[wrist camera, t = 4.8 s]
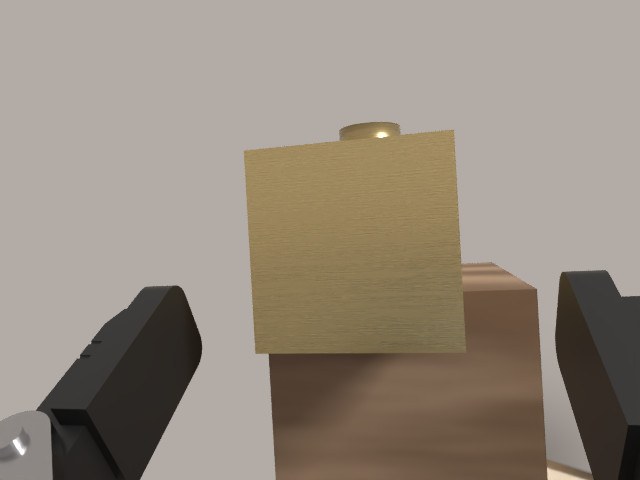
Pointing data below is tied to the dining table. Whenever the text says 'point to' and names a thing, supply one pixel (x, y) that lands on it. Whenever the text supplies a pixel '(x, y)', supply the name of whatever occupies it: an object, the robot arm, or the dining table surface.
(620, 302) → the robot arm
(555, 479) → the dining table surface
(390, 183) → the gold studded block
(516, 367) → the stand
